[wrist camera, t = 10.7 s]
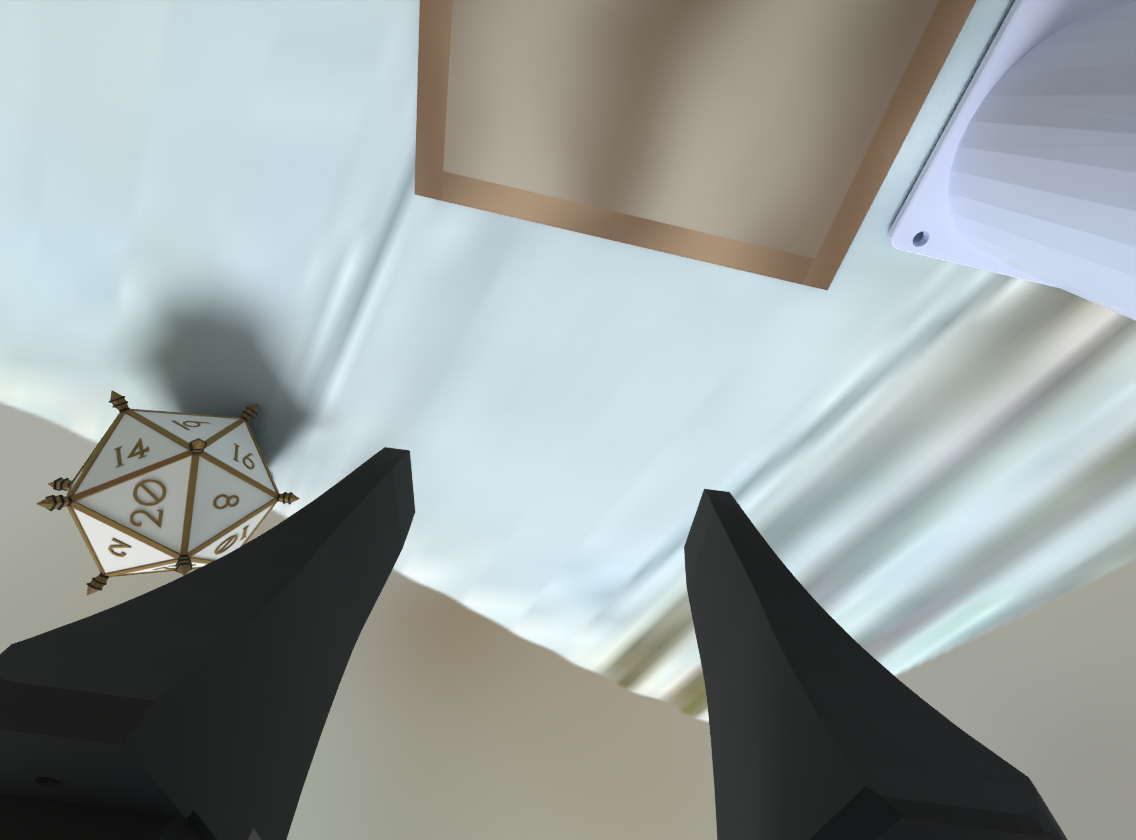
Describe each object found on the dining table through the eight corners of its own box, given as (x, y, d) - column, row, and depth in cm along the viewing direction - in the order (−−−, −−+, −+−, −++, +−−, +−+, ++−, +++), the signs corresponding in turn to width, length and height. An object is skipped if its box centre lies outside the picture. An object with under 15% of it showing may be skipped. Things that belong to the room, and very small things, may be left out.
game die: (244, 379, 28) (5, 344, 18) (362, 439, 26) (161, 434, 16) (189, 523, 28) (-73, 563, 19) (301, 593, 26) (69, 680, 17)
